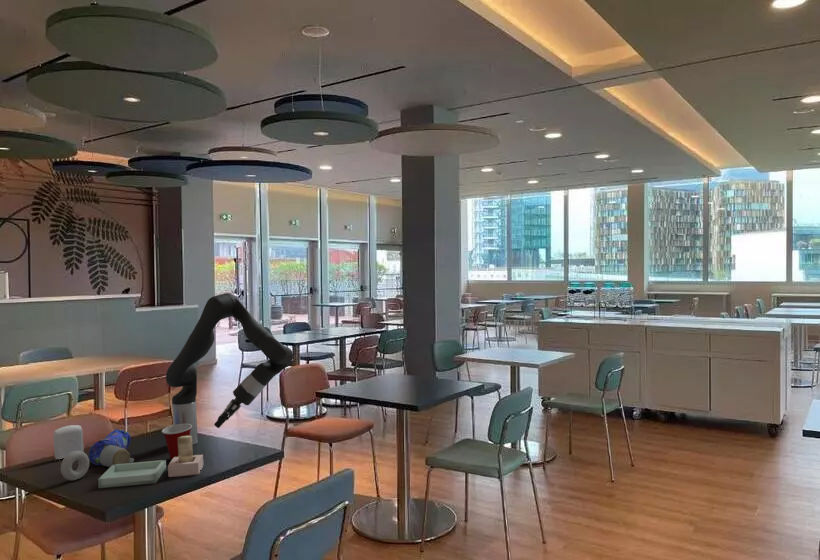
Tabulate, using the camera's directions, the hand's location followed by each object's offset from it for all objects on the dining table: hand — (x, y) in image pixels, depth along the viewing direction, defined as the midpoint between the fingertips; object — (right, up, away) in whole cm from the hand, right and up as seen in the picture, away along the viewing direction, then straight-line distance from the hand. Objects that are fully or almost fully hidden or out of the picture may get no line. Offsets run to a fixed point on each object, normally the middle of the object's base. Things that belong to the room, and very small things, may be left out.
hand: (217, 423), depth 218 cm
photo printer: (-65, -19, +22) cm, 72 cm away
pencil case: (-48, -18, +19) cm, 54 cm away
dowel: (-11, -16, -2) cm, 20 cm away
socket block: (-11, -16, -2) cm, 20 cm away
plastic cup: (-19, -17, +14) cm, 29 cm away
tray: (-27, -17, -7) cm, 33 cm away
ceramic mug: (-39, -18, +8) cm, 44 cm away
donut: (-47, -18, -6) cm, 51 cm away
